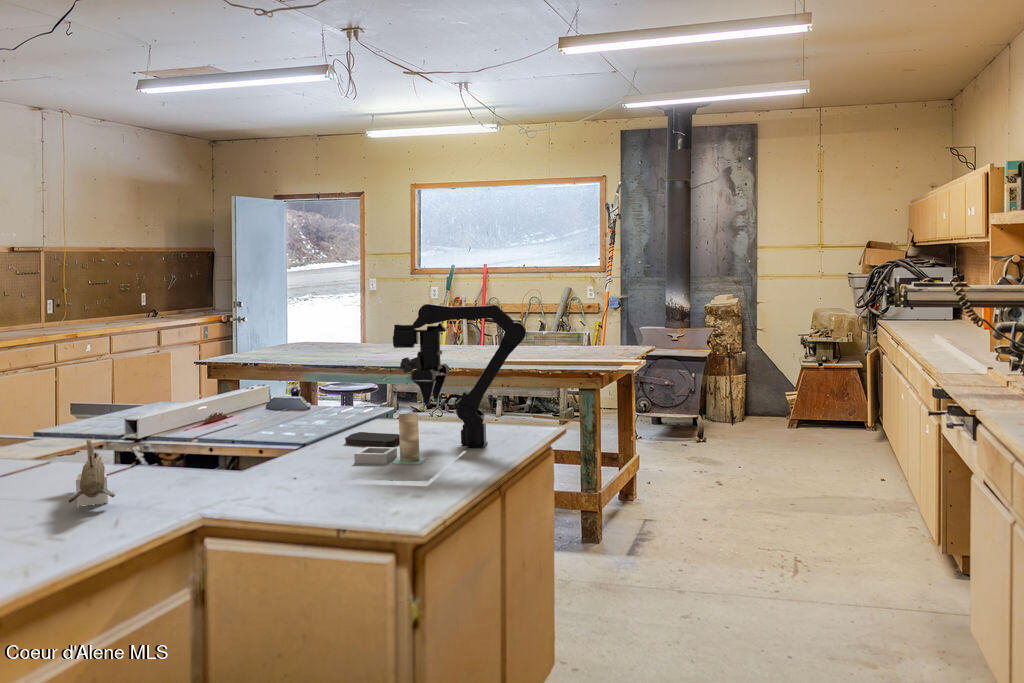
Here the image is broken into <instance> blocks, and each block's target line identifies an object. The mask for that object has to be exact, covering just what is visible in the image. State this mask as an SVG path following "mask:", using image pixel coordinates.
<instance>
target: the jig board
mask: <svg viewBox="0 0 1024 683" xmlns="http://www.w3.org/2000/svg"><path fill="white" fill-rule="evenodd" d="M353 458H354V463H353V464H354V465H391V466H393V465H395V466H422V465H423V464H425V463H426V462H427V461H428V460H430V459H431V456H419V461H417V462H401V461H400V456H398V447H395V446H393V447H369V446H364V448H362V449H360V450H357V452H356V451H355V453H354V454H353Z"/></svg>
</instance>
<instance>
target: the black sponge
mask: <svg viewBox="0 0 1024 683" xmlns="http://www.w3.org/2000/svg"><path fill="white" fill-rule="evenodd" d="M344 440H345V442H344V443H345V445H346V446H358V447H395V446H400V439H399V433H380V432H368V431H367V432H365V431H360V432H359V431H358V432H354V433H351V434H349V435H348V436H346V437H345V438H344Z"/></svg>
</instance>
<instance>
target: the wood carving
mask: <svg viewBox="0 0 1024 683" xmlns="http://www.w3.org/2000/svg"><path fill="white" fill-rule="evenodd" d="M85 440H86V441H85V442H86V450H87V451H86V452H87V461H86V462H85V463H84V464H83V466H82V469H81V470H82V471H81V473H80V474H75V489H76V494H75V495H73V496H72V497H71V498H69V499H68V502H69V503H72V502H74V501H75V500H76V506H83V505H93V504H101V505H104V504H103V503H108V504H109V498H108V497H111V498H115V496H116V494H115V493H114V492H113V491H110V490H108V479H107V478H108V476H107V471H105V469H106V467H105V464H104V462H103V460H102V459H103V458H102V456H99V453H98V452H95V447H94V444H93V442H92V439H90V438H86V439H85ZM93 506H94V505H93Z"/></svg>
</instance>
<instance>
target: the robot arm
mask: <svg viewBox="0 0 1024 683" xmlns="http://www.w3.org/2000/svg"><path fill="white" fill-rule="evenodd" d="M417 313H418V314H417V315H418V316H417V318H416V319H415V321H413V323H412V324H398V323H397V324H394V325H393V326H394V327H393V328H394V329H393V335H392V344H393V349H414V348H415V345H418V344H419V351H418V352H417V354H416V356H417V357H414V358H411V359H410V358H409V357H405V358H404V357H403V358H401V360H400V361H401V362H400V363H399V364H400V366H399V368H400V370H402V372H403V374H407V373H410V372H411V373H410V380H411V381H412V382H413V383H415V384H416V385H417V386H418V387H419V390H420V391H421V392H420V393H421V395H422V399H423V402H424V405H430V401H431V398H432V396H433V400H438V399H439V396H440V394H441V392H442V389H443V386H444V384H445V382H446V380H447V377H449V376H448V374H450V366H449V365H448V364H447V363H441V355H442V354H443V350H441V336H440V333H441V332H442V333H445V332H446V331H447V328H446V327H445V326H443V324H442V322H447V321H451V320H475V319H476V320H477V319H479V320H480V319H481V320H482V319H491V320H492V321H493V322H495V323H496V324H497V326H498V327H499V328H501V330H503V331H504V334H503V336H502V338H501V341H500V343H499V346H498V348H497V349H496V351H495V353H493V354H494V355H493V356H492V357H491V359H490V361H489V362H488V363H487V365H486V367H485V368H484V369H483V372H482V373H481V375H480V376H479V378H478V380H477V381H476V383H475V385H474V386H473V387H472V388H471V389H470V390H467V388H466V389H464V391H463V392H462V394H461V397H460V398H459V399H458V400H457V402H456V403H455V404H456V405H457V406H456V410H455V411H456V412H455V413H456V416H457V417H458V419H460V420H461V421H462V422H463V423H462V429H461V430H460V445H461V447H467V448H484V447H485V446H487V445H488V443H489V441H487V423H484V420H485V415H486V414H485V413H483V412H482V411H481V410H480V409H479V407H480V405H481V402H482V400H483V398H484V395H485V394H486V392H487V391H488V389H489V387H490V386H491V384H492V382H493V381H494V380H495V378H496V376H497V375H498V373H499V371H500V369H501V368H502V366H503V365H504V363H505V362H506V360H507V358H508V357H509V355H511V353H512V352H513V351H514V350H515V349H516V348H518V346H519V345H520V344H521V343H522V342H523V341H524V339H525V338H526V333H527V332H526V330H527V329H526V327H525V325H524V324H523V323H522V322H519V321H516V320H514V319H512V317H511V316H509V315H508V314H507V313H506V312H505V311H504V310H502V309H501V307H500V306H499V305H497V304H491V305H471V306H470V305H468V306H467V305H466V306H463V305H462V306H450V305H442V304H436V303H426V304H423V305H422V306H420V308H419V309H418V312H417ZM433 324H438V325H433ZM425 325H428V326H426V329H420V328H423V327H424V326H425Z"/></svg>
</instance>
